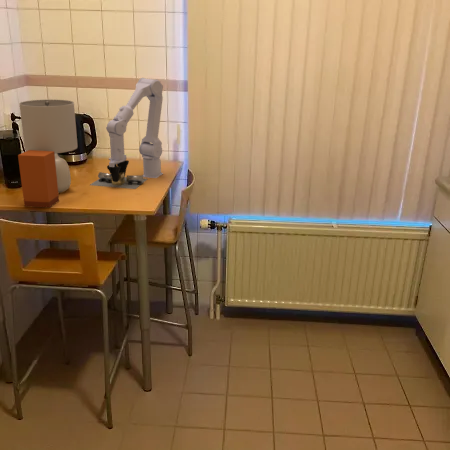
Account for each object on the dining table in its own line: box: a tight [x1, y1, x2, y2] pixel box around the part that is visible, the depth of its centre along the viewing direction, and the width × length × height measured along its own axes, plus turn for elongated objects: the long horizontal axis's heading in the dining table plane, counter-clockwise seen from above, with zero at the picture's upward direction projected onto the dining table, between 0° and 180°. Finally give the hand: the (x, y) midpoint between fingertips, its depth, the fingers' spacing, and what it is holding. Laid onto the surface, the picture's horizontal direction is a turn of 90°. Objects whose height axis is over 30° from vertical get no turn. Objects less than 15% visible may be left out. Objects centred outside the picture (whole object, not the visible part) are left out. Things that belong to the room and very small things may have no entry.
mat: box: [89, 176, 148, 190], centre depth 220 cm, size 16×21×1 cm
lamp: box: [19, 99, 78, 194], centre depth 201 cm, size 20×20×37 cm
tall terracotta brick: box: [17, 150, 60, 209], centre depth 189 cm, size 10×9×20 cm
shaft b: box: [125, 174, 144, 186], centre depth 218 cm, size 7×4×4 cm, turn 94°
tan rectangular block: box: [112, 172, 126, 185], centre depth 217 cm, size 4×4×5 cm
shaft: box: [97, 171, 112, 183], centre depth 220 cm, size 7×4×4 cm, turn 64°
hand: (119, 179), depth 217 cm, fingers open, 7 cm apart
